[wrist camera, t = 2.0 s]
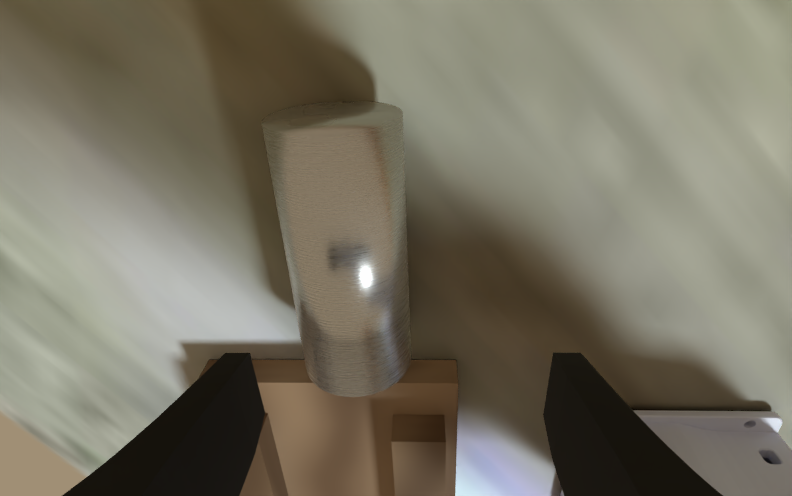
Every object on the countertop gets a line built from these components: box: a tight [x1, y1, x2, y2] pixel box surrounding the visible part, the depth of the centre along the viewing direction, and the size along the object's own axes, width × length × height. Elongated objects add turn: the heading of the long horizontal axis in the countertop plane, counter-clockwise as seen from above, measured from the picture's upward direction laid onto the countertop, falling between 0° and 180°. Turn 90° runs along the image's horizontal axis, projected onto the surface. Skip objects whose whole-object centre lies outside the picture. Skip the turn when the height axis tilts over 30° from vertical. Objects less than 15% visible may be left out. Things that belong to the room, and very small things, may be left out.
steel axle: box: [261, 101, 411, 397], centre depth 17 cm, size 4×10×4 cm
